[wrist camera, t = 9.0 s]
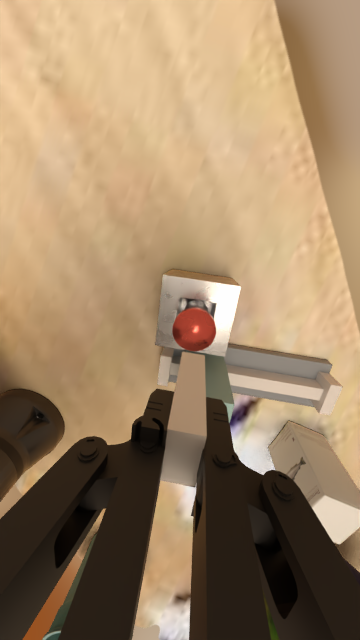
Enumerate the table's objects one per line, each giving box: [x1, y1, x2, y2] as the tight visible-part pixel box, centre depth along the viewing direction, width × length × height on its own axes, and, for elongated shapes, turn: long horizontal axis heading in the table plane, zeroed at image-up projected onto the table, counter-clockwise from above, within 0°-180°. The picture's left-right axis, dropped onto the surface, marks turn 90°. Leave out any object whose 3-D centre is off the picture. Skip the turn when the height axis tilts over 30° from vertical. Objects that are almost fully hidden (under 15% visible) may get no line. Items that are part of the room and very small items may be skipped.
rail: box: [157, 344, 343, 415], centre depth 34 cm, size 26×8×5 cm, turn 82°
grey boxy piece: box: [155, 269, 241, 357], centre depth 30 cm, size 9×9×8 cm
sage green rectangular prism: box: [186, 350, 234, 423], centre depth 30 cm, size 6×6×12 cm
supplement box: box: [268, 421, 360, 544], centre depth 34 cm, size 7×7×13 cm
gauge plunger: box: [172, 300, 216, 351], centre depth 25 cm, size 4×4×7 cm
